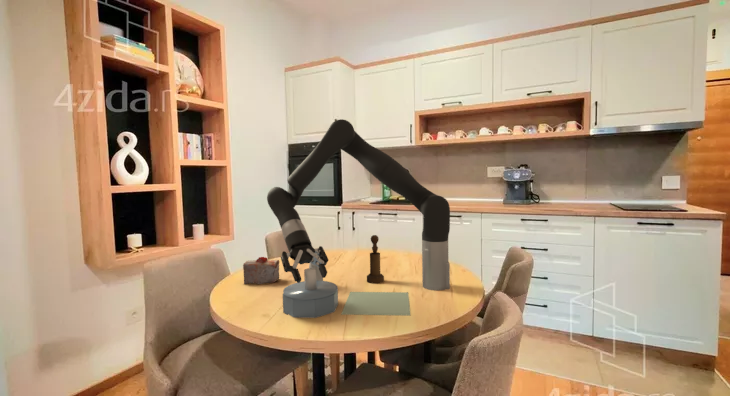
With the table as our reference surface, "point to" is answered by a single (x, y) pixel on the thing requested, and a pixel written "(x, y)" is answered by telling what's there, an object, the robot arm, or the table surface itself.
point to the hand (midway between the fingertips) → (312, 278)
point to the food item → (261, 271)
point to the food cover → (310, 297)
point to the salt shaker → (318, 274)
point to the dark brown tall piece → (375, 264)
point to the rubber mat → (377, 303)
